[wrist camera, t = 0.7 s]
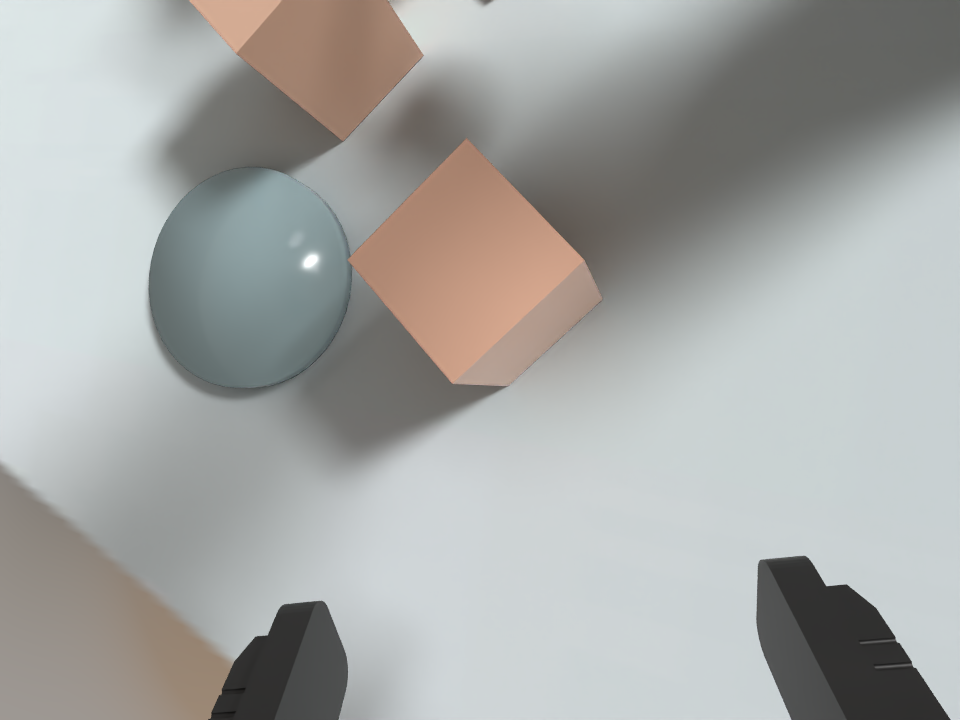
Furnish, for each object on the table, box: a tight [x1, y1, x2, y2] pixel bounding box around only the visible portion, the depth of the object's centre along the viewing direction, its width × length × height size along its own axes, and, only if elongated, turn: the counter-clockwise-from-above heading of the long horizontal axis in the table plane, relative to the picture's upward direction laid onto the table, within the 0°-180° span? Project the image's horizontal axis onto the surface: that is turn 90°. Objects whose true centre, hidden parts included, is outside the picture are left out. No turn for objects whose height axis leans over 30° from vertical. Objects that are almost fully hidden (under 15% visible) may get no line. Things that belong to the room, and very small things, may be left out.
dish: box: [149, 167, 352, 388], centre depth 34 cm, size 12×12×1 cm
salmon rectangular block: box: [348, 138, 603, 386], centre depth 26 cm, size 6×6×9 cm
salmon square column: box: [189, 0, 424, 141], centre depth 29 cm, size 6×6×9 cm
